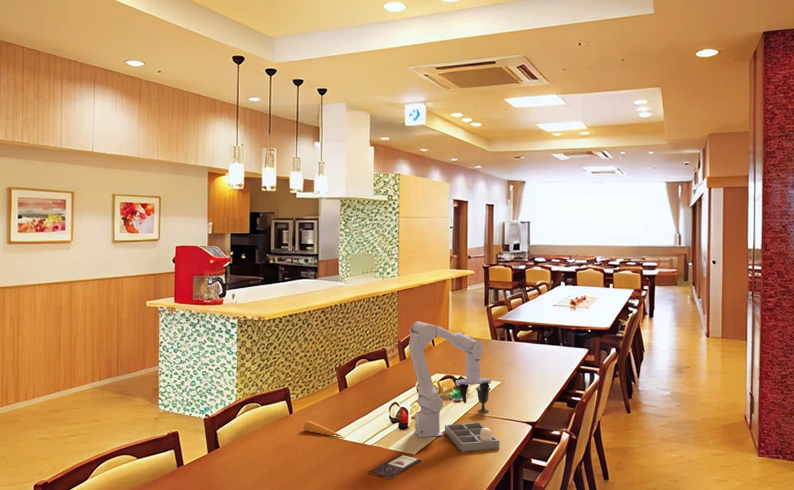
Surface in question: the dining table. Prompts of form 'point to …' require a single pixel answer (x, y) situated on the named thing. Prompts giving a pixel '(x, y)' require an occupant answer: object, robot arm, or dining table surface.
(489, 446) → the grey compartment tray
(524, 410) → the dining table surface
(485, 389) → the robot arm
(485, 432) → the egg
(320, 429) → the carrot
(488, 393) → the sundae
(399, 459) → the chocolate bar
